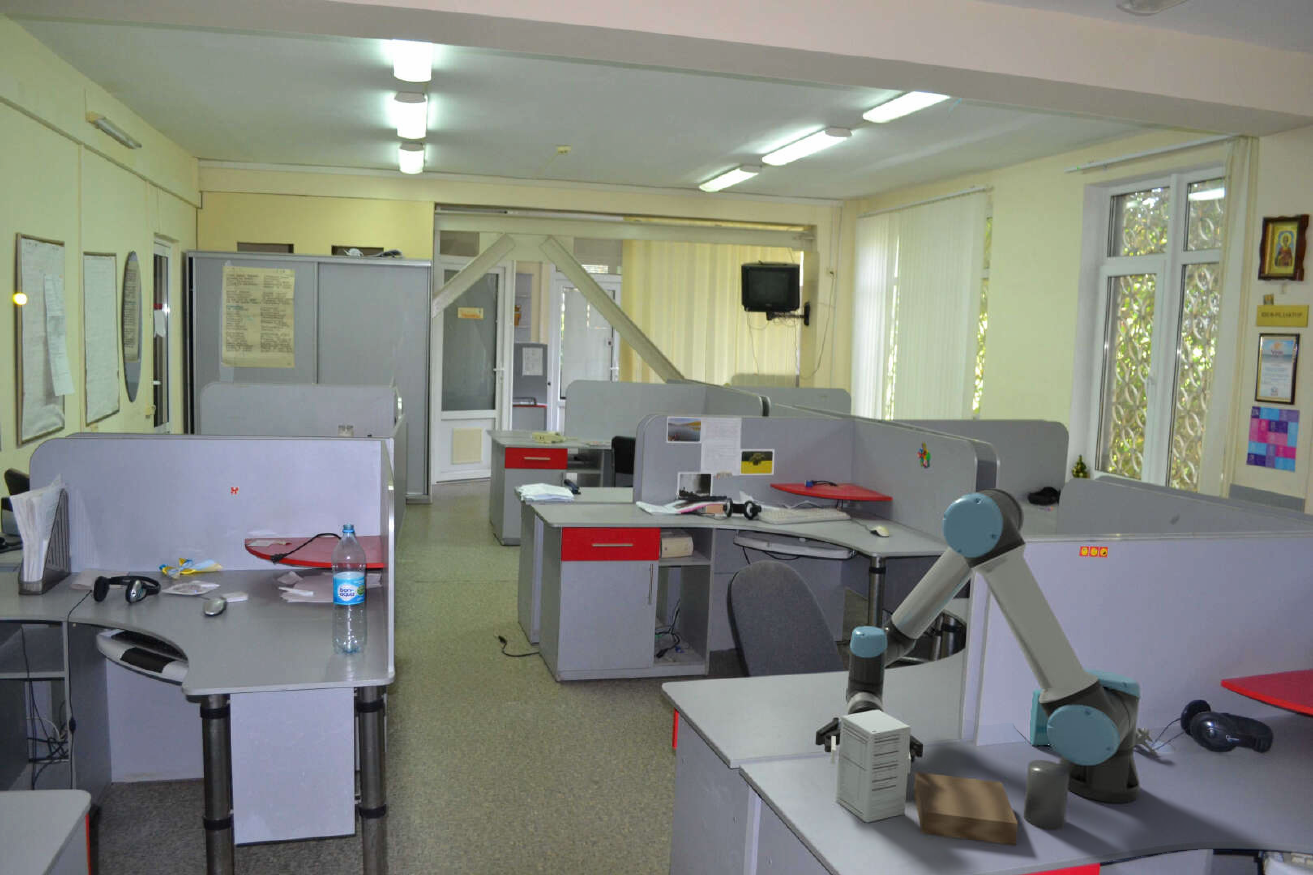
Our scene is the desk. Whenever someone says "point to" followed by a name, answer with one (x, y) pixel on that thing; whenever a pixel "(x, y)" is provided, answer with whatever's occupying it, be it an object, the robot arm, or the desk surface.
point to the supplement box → (873, 765)
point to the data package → (1038, 722)
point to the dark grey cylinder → (1046, 794)
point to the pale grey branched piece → (1142, 736)
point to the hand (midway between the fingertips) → (870, 761)
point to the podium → (964, 808)
